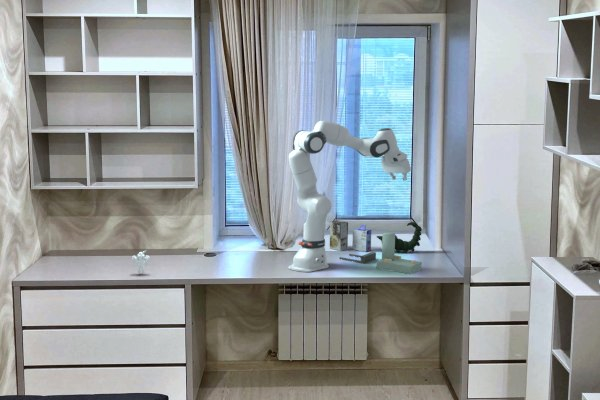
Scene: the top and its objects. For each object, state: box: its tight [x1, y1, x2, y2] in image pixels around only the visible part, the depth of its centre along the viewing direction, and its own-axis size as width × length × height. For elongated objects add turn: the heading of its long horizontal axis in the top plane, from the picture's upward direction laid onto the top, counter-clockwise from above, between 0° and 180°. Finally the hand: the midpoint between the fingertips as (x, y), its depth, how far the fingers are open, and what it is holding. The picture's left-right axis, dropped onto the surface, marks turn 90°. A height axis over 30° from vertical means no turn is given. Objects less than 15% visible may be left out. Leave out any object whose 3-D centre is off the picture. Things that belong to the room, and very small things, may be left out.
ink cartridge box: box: [351, 224, 372, 252], centre depth 444 cm, size 10×6×14 cm, turn 53°
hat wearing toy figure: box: [131, 249, 150, 275], centre depth 390 cm, size 9×4×12 cm, turn 92°
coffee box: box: [329, 219, 349, 252], centre depth 446 cm, size 9×6×16 cm
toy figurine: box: [376, 221, 423, 254], centre depth 439 cm, size 9×19×25 cm
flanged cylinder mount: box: [376, 231, 423, 275], centre depth 402 cm, size 12×20×18 cm, turn 54°
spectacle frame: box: [338, 251, 377, 265], centre depth 423 cm, size 12×16×4 cm
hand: (399, 179), depth 421 cm, fingers open, 8 cm apart
